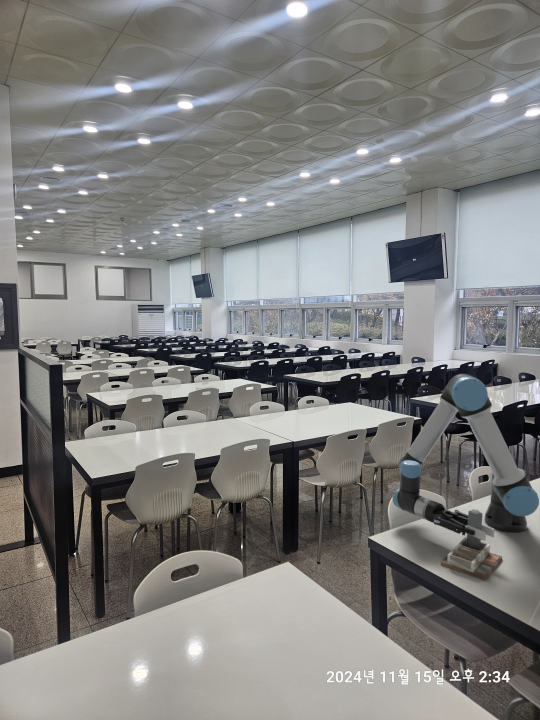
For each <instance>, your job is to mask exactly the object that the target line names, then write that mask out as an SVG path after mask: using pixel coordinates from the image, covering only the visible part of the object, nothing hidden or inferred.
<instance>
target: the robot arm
mask: <svg viewBox="0 0 540 720" xmlns="http://www.w3.org/2000/svg"><path fill="white" fill-rule="evenodd" d="M439 400H440V401H439V402H438V404H437V406H436V407H435V409H434V410H433V412H432V414H431V415H430V416H429V418H428V420H427V421H426V422H425V424H424V425H423V427H422V429H421V430H420V431H419V433H418V435H417V436H416V438H415V439H414V441H413V442H412V444H411V445H410V446H409V449H408V450H407V451H406V452H405V454H404V455H403V456H402V457H400V459H399V462H398V470H399V476H400V477H399V488H396V490H395V491H394V492H393V496H392V503H393V505H394V506H395V507H396V508H398V509H400V510H402V511H403V512H404V511H405V512H407V513H409V514H412V515H414V516H416V517H419V518H421V519H422V520H426V521H428V522H430V523H431V524H434V525H435V526H439V527H442V528H444V529H445V530H448V531H451V532H454V533H456V534H458V535H459V534H461V535H462V536H466V535H467V534H469V535H471V536H474V537H476V538H479V539H481V541H482V542H485V541H486V537H487V536H489V537H491V538H494V537H495V529H496V530H499V531H505V532H509V533H520V532H524V531H527V528H528V527H527V526H528V521H527V517H526V516H530V515H532V514H534V513H535V512H536V511H537V509H538V507H539V505H540V498H539V495H538V492H537V491H536V490H535V489H534V488H533V486H532V485H531V482H530V481H529V479H528V476H527V474H526V471H525V470H524V469H522V468H518V466H517V464H516V462H515V459H514V458H513V456H512V453H511V451H510V449H509V448H508V445H507V443H506V441H505V439H504V437H503V434H502V432H501V431H500V429H499V426H498V424H497V422H496V421H495V418H494V416H493V414H492V412H491V409H492V407H493V404H492V402H491V400H490V398H489V396H488V390H487V387H486V385H485V384H484V382H482V381H481V380H480V379H478V378H477V377H474V376H473V375H471V374H467V373H459V374H457V375H454V376H453V377H452V378H451V379H450V380H449V381H448V383H447V385H446V386H445V388H444V390H443V391H442V393H441V395H440V396H439ZM457 413H459V415H460V417H461V418H462V419H466V420H467V422H468V424H469V426H470V428H471V430H472V432H473V435H474V437H475V439H476V441H477V443H478V445H479V447H480V449H481V451H482V453H483V456H484V458H485V460H486V462H487V464H488V465H489V468H490V470H491V472H492V473H491V487H490V502H489V504H488V507H487V509H486V512H485V513H484V523H485V524H483V523H482V530H479V529H476V528H474V527H471V526H469V525H468V514H466V513H464V512H461V511H460V510H459V509H454V511H452V510H449V509H445V506H444V505H443V504H442V503H440V502H438V501H435V500H432V499H430V498H427V497H425V496H422V495H420V491H421V489H420V488H421V487H420V486H421V475H422V465H423V463H425V460H426V459H427V457H429V454H430V453H431V452H432V451H433V449H434V447H435V446H436V444H437V443H438V442H439V440H440V439H441V436H442V435H443V434H444V432H445V430H447V428H448V426H449V425H450V423H451V422H452V420H453V419H454V418H455V416H456V415H457Z"/></svg>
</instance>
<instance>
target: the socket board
mask: <svg viewBox="0 0 540 720" xmlns="http://www.w3.org/2000/svg"><path fill="white" fill-rule="evenodd" d="M466 543H467V536H465V537H463V539H462V540H461V541H460V542H459V543H457V545H456V546H454V548H453V549H452V550H450V552H449V553H447V555H446V557H443V559H442V560H441V561H440V565H441V566H443V567H446V568H450V569H452V570H455V571H458V572H460V573H463V574H465V575H469V576H472V577H475V578H477V579H479V580H483V581H487V580H488V578H489V577H490V576H491V574H492V573H493V572H494V571H495V570H496V568H497V566H498V565H499V564H500V563H501V561H502V560H503V556H502V555H500V554H496V553H493V552H491V551H490V549H491V544H490V543H487V542H485V541H481V546H480V550H475V549H472V548H469V547H467V546H466Z"/></svg>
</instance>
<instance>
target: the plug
mask: <svg viewBox="0 0 540 720" xmlns="http://www.w3.org/2000/svg"><path fill="white" fill-rule="evenodd" d="M467 515H468V525H469V526H471V527H474V528H476V529H479V530H482V524H483V513H482V512H481V511H479V510H478V509H471V510H469V511H468V514H467ZM466 537H467V543H466V546H467V547H469V548H472V549H475V550H480V546H481V542H482V540H481V539H479V538H476V537H474V536H471V535H469V534H467V533H466Z"/></svg>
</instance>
